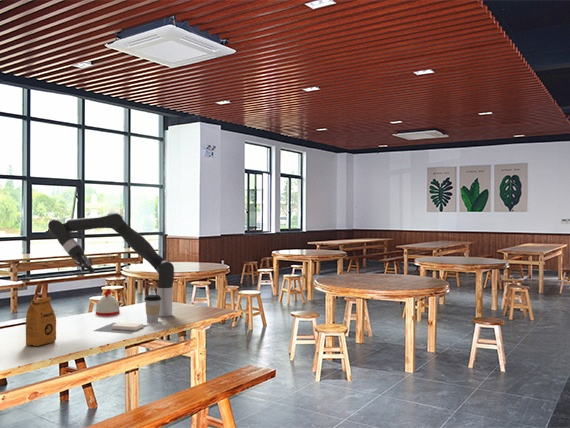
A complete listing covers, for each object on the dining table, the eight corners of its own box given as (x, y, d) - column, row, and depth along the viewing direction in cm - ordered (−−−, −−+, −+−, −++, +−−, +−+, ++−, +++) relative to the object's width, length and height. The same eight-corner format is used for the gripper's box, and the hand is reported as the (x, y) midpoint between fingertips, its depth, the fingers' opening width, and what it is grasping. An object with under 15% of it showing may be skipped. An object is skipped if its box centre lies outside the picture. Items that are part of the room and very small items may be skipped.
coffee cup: (156, 324, 287) (156, 297, 287) (141, 323, 289) (141, 296, 289) (163, 320, 296) (164, 295, 296) (148, 319, 298) (149, 294, 298)
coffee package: (59, 342, 246) (60, 296, 246) (37, 348, 235) (37, 300, 235) (45, 339, 250) (45, 295, 250) (22, 345, 239) (23, 298, 239)
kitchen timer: (122, 311, 322) (122, 287, 321) (115, 315, 308) (115, 291, 308) (99, 311, 321) (100, 287, 321) (92, 315, 307) (92, 290, 307)
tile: (111, 325, 272) (135, 327, 269) (119, 322, 280) (143, 323, 276) (111, 329, 272) (135, 331, 269) (119, 325, 280) (142, 327, 277)
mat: (92, 331, 268) (92, 330, 268) (113, 323, 287) (113, 322, 287) (130, 334, 263) (130, 333, 263) (149, 326, 282) (149, 325, 282)
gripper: (70, 245, 274) (90, 269, 271) (85, 243, 287) (104, 266, 284) (61, 254, 275) (81, 278, 273) (76, 252, 288) (95, 275, 285)
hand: (93, 272), depth 278 cm, fingers closed
